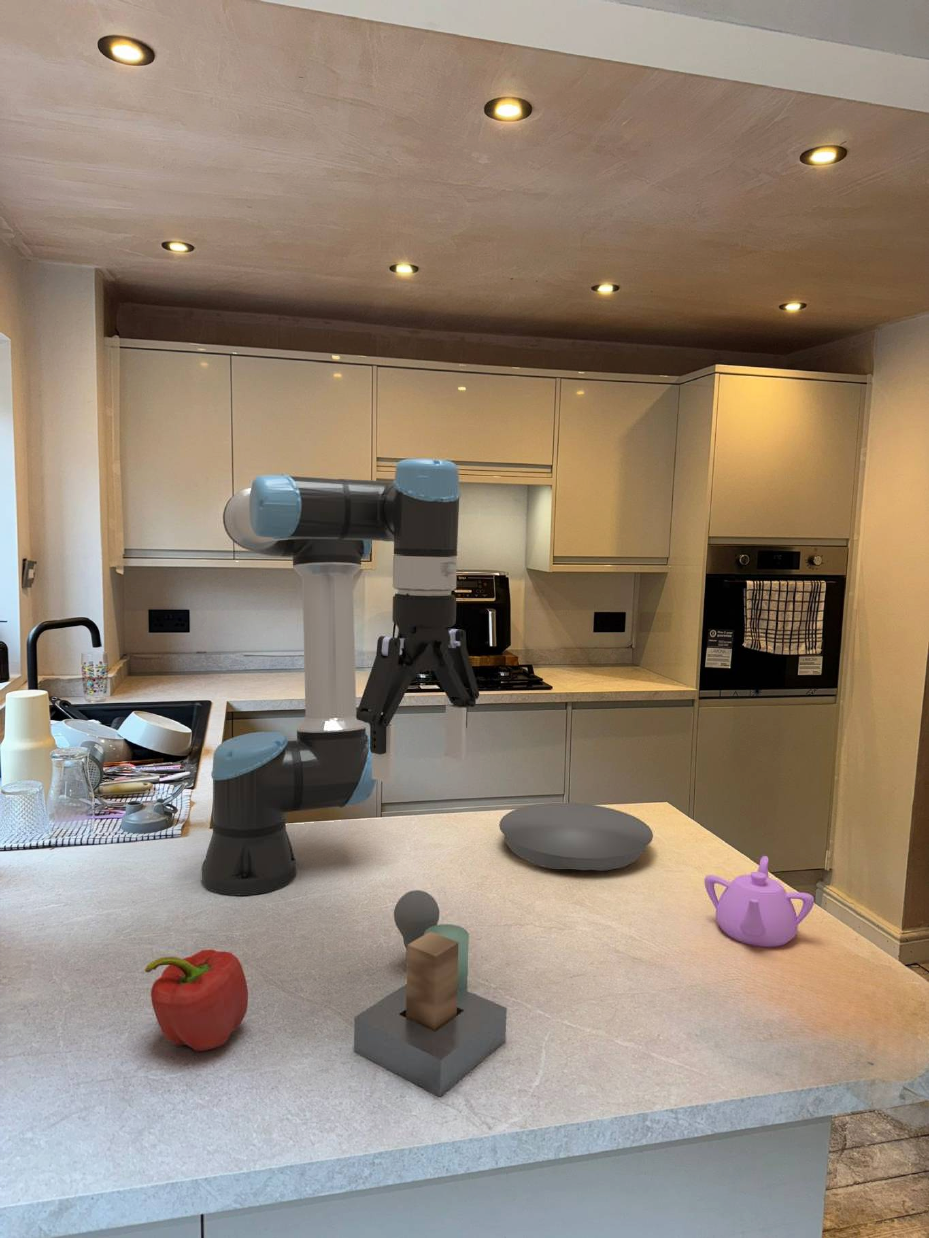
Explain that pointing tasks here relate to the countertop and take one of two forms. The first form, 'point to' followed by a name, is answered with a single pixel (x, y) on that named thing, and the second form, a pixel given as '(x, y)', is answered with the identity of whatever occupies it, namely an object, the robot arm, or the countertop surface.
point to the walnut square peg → (432, 980)
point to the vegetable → (199, 998)
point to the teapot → (757, 908)
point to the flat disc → (575, 836)
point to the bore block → (430, 1039)
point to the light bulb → (415, 915)
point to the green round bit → (463, 939)
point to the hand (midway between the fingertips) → (420, 768)
